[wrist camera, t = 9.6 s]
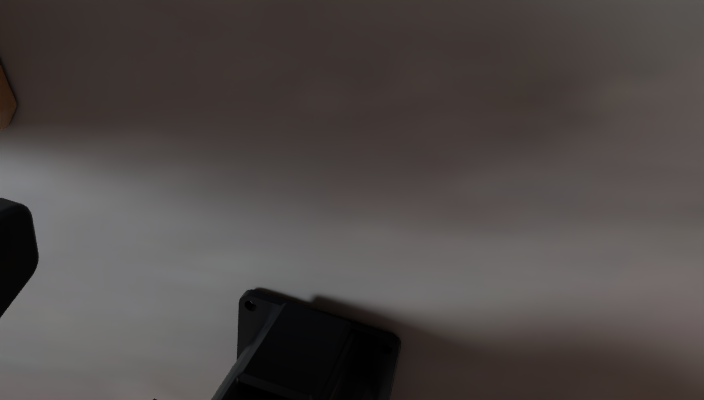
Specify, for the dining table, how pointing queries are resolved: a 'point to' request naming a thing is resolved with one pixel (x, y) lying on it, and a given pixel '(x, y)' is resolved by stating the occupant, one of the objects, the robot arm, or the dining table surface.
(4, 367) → the dining table surface
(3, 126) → the whiskey bottle
